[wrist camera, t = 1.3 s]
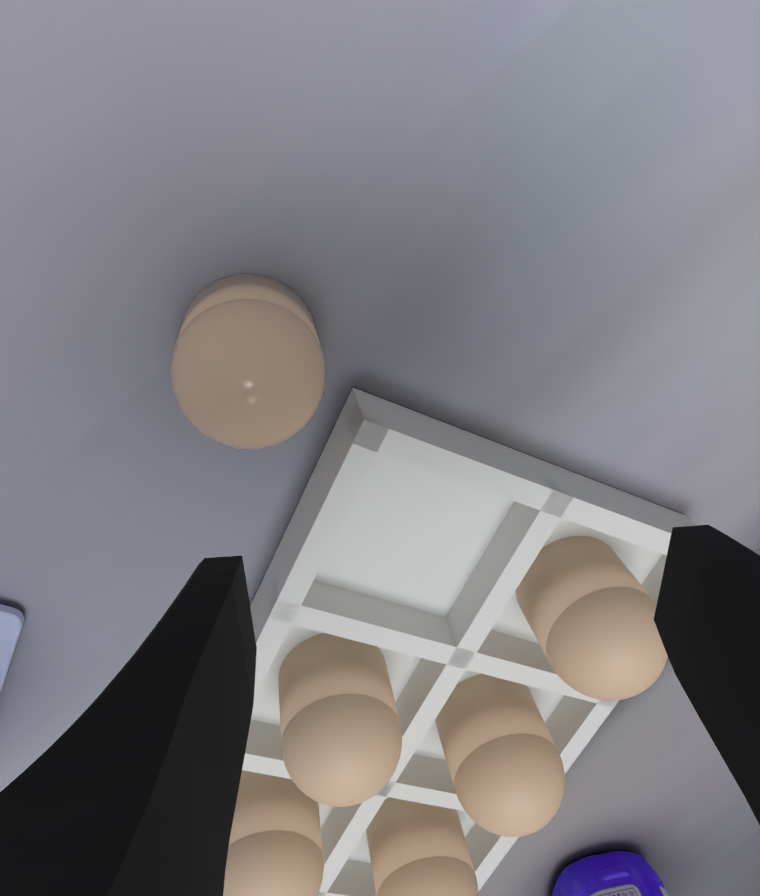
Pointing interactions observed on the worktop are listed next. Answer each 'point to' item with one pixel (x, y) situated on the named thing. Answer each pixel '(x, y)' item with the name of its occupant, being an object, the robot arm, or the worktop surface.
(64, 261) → the worktop surface
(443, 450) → the carton
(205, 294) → the egg
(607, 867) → the bottle
